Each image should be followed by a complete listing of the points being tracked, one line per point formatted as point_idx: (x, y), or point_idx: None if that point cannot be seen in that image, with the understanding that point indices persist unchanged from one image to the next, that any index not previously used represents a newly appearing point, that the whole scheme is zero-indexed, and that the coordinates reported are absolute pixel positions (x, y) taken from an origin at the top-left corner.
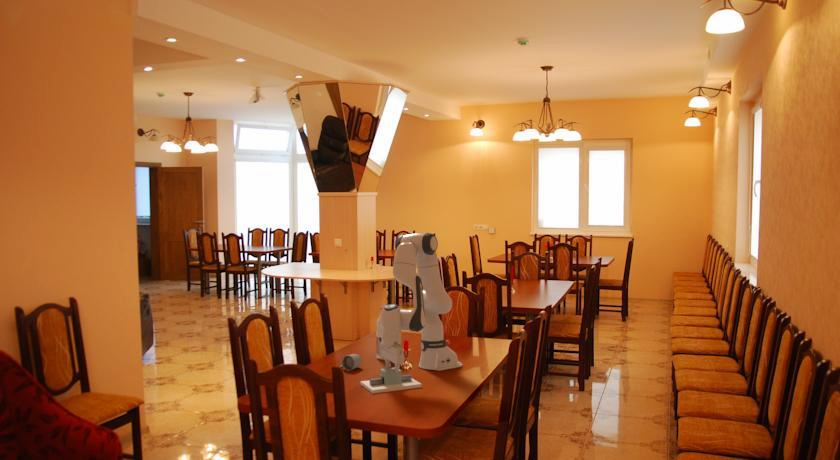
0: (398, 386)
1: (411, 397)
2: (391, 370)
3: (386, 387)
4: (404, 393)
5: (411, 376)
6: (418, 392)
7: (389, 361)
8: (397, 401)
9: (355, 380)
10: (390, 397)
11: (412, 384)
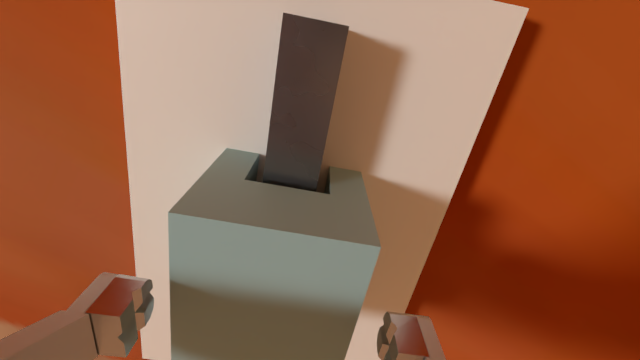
0: (422, 241)
1: (628, 254)
2: (300, 334)
3: (381, 313)
4: (519, 240)
5: (348, 28)
6: (595, 145)
7: (47, 338)
8: (600, 348)
9: (40, 318)
10: (508, 339)
11: (465, 110)
